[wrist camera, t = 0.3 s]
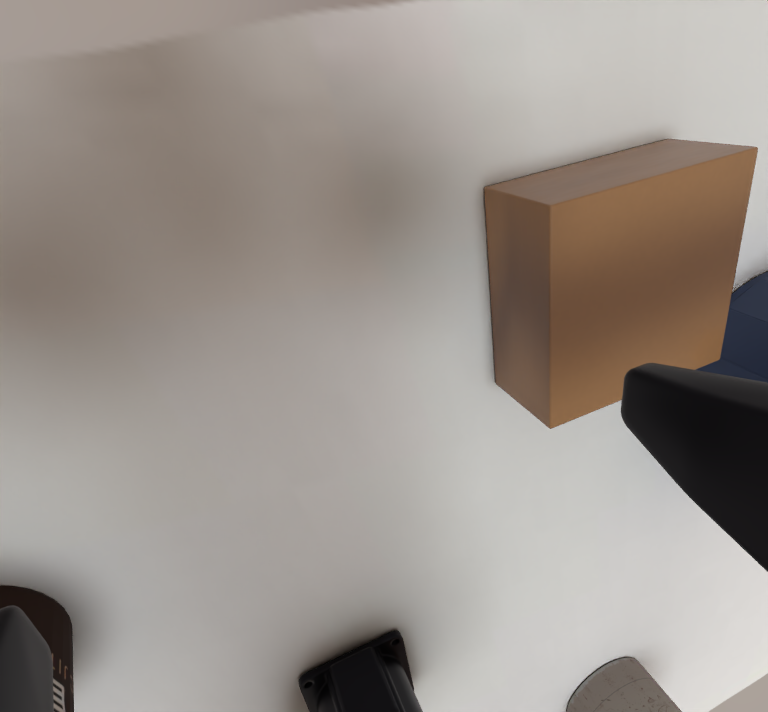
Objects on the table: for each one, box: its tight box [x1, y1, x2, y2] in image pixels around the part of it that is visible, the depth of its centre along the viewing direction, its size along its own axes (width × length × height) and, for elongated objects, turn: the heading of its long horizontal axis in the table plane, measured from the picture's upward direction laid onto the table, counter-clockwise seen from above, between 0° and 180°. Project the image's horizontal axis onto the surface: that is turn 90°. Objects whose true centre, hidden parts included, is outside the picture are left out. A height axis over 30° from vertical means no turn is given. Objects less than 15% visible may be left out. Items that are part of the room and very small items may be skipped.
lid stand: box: [484, 139, 758, 429], centre depth 25 cm, size 10×10×4 cm
